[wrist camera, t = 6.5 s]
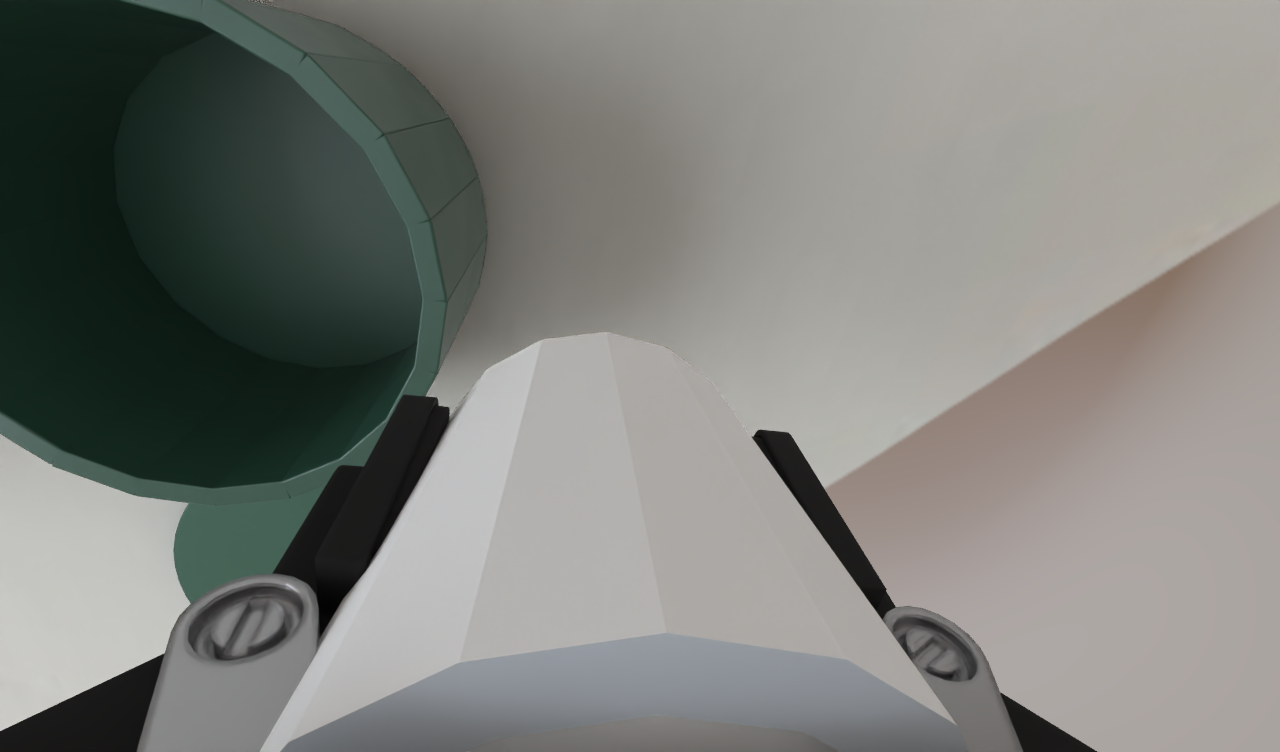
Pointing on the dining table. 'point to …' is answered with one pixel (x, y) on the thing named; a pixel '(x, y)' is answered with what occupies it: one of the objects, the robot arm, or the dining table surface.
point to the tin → (220, 244)
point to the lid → (235, 540)
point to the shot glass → (606, 587)
